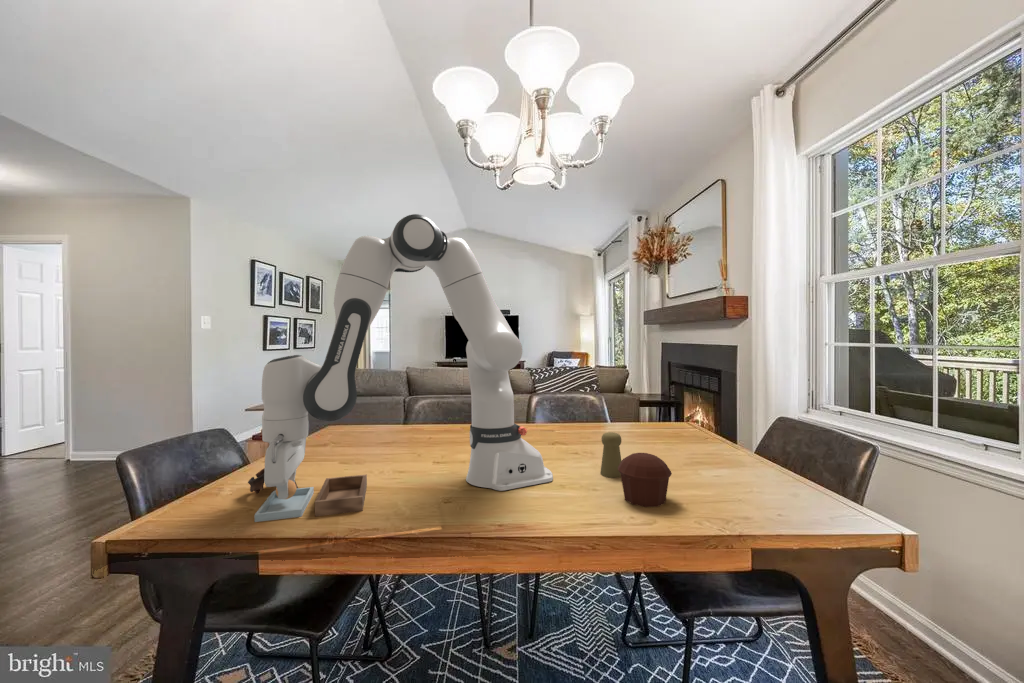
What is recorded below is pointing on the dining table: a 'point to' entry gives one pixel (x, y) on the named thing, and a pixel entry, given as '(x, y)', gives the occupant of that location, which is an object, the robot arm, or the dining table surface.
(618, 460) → the cork
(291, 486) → the ball
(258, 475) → the brown curved piece
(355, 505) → the wooden planter box
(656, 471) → the muffin
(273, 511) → the tray
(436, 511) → the dining table surface
